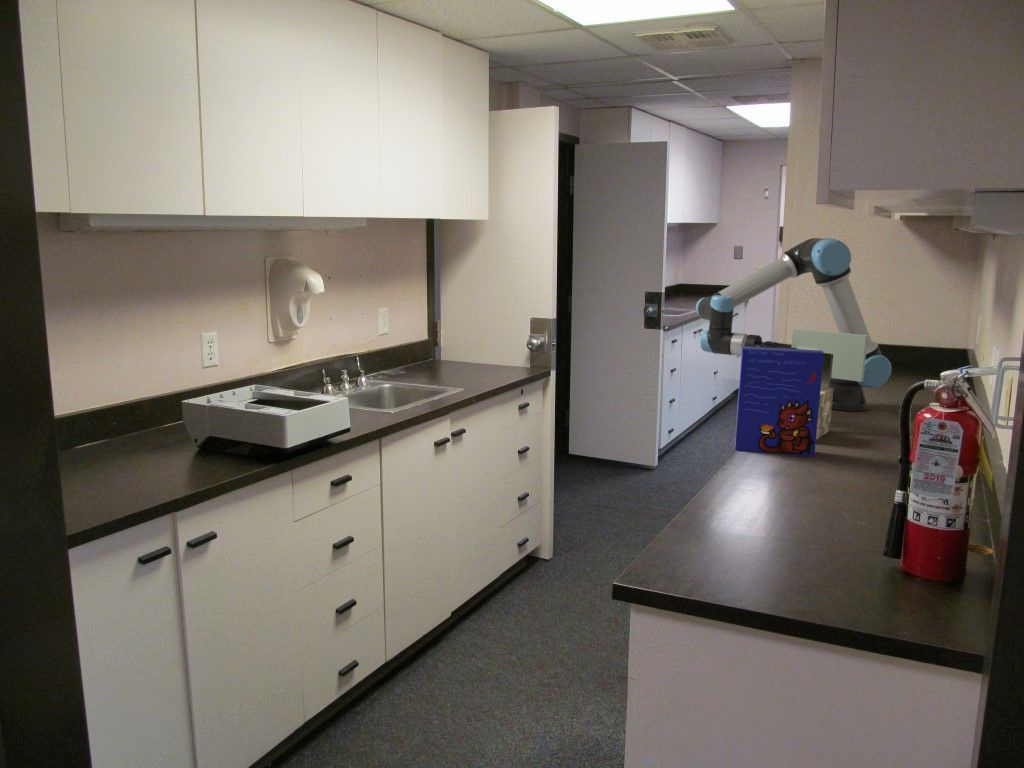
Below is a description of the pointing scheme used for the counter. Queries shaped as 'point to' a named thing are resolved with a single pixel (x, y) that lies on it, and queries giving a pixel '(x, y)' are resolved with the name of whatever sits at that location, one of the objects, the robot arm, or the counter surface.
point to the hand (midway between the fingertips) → (819, 353)
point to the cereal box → (778, 400)
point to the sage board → (836, 350)
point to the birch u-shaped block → (824, 412)
